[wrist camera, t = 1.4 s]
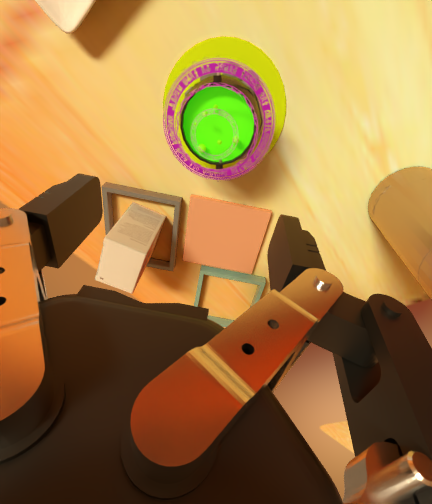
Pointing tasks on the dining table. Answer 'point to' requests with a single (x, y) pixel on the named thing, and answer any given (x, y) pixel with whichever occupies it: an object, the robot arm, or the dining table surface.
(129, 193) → the grey rectangular frame
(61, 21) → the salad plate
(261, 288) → the green rectangular frame
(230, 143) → the toy cauldron
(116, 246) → the small box
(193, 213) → the terracotta tile
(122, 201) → the dining table surface
